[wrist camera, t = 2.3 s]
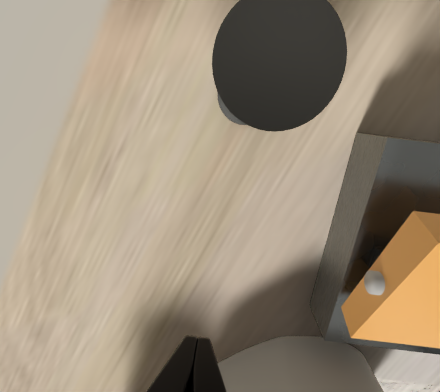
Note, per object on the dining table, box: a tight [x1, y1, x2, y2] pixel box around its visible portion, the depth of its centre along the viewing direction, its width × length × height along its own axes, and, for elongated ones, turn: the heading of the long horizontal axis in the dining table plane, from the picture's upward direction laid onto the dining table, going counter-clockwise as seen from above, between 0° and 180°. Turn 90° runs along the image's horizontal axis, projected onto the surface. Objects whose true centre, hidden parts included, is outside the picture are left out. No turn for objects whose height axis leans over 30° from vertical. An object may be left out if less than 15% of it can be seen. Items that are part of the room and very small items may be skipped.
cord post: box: [212, 0, 347, 131], centre depth 9 cm, size 3×3×10 cm
